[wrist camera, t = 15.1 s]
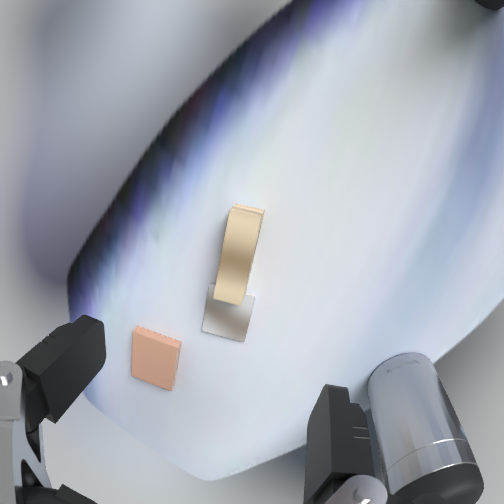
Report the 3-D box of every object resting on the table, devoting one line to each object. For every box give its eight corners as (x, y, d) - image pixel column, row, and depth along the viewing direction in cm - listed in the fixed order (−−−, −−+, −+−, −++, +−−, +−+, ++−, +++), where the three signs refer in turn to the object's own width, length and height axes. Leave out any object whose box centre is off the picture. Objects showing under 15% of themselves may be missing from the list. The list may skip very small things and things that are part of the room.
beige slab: (225, 200, 31) (218, 206, 28) (275, 212, 30) (273, 219, 27) (203, 328, 36) (195, 343, 33) (244, 339, 35) (240, 355, 32)
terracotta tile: (133, 331, 36) (131, 375, 38) (177, 348, 35) (171, 391, 38) (139, 324, 37) (136, 368, 40) (182, 340, 37) (175, 383, 40)
